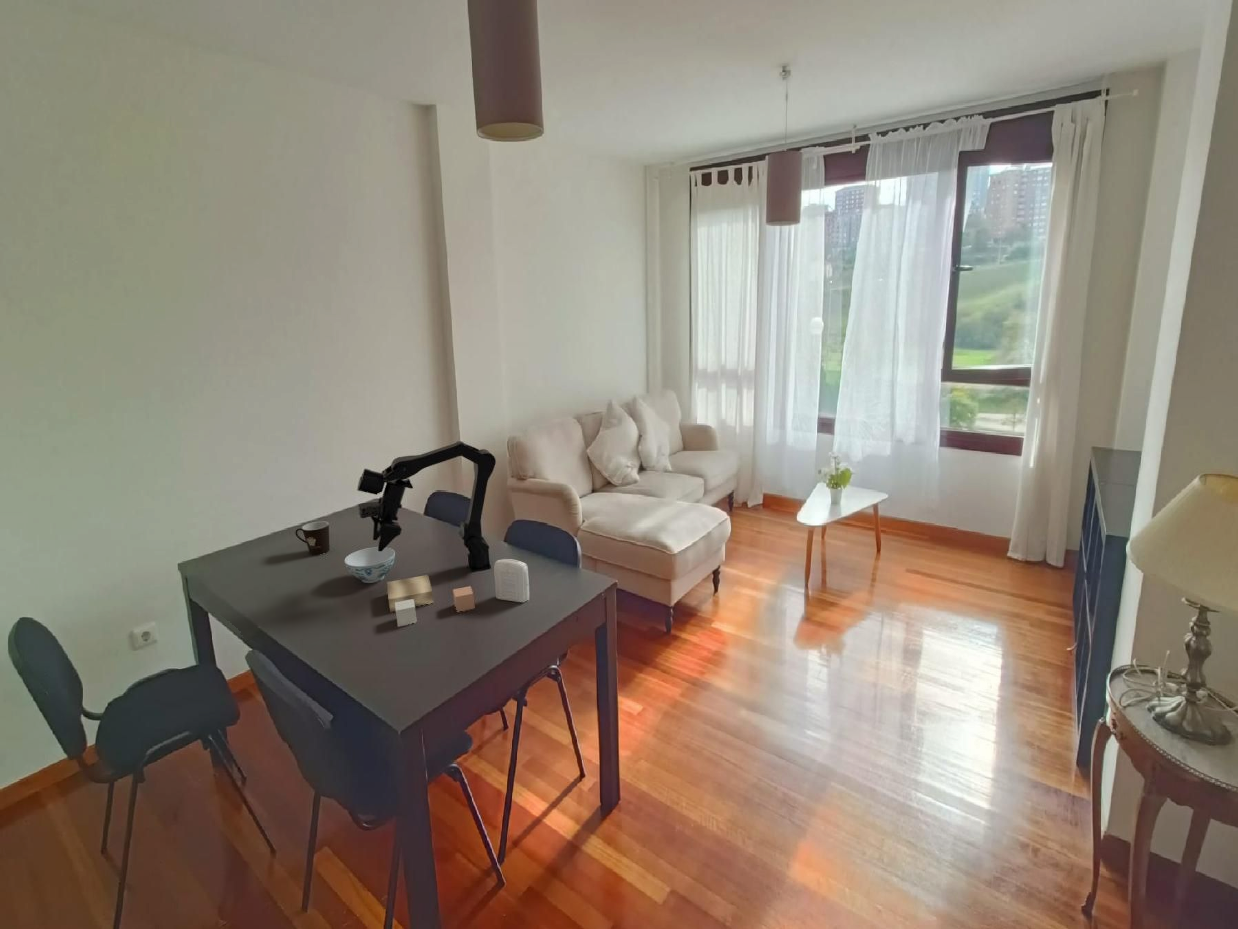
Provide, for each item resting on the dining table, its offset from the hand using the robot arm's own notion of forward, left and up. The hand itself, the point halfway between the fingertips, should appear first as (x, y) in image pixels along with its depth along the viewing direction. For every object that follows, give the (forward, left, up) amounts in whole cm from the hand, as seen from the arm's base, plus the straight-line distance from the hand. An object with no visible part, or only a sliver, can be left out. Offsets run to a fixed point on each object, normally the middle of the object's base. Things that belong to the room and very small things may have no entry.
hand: (377, 545), depth 188 cm
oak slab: (-7, +13, -13) cm, 20 cm away
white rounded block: (-35, +26, -14) cm, 46 cm away
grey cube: (-5, +26, -14) cm, 30 cm away
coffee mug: (+21, -40, -14) cm, 47 cm away
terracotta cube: (-21, +25, -14) cm, 36 cm away
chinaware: (+3, -7, -14) cm, 16 cm away
